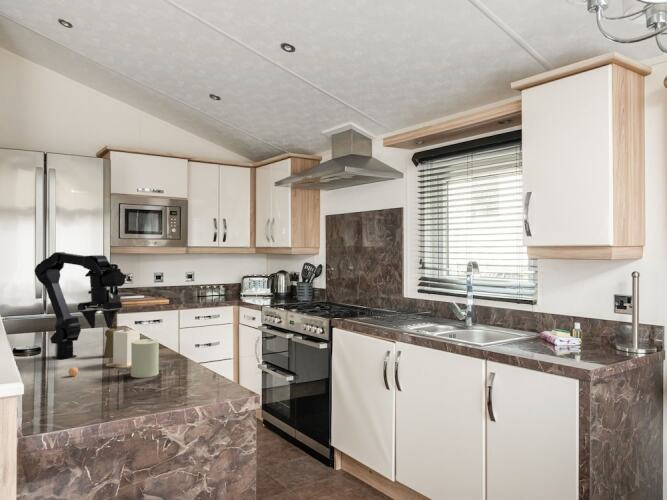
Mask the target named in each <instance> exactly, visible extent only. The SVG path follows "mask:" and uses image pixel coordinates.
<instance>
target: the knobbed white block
mask: <svg viewBox="0 0 667 500" xmlns="http://www.w3.org/2000/svg"><path fill="white" fill-rule="evenodd" d="M118 330H119V329H118ZM140 333H141V330H139V329H130V327H124V328H123V329H121V330H119V331H114V332H113V359H112V363H113V364H119V365H130V364H131V342H132V341H135V340H141V337H140V336H141V334H140Z"/></svg>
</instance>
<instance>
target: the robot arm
mask: <svg viewBox="0 0 667 500" xmlns="http://www.w3.org/2000/svg"><path fill="white" fill-rule="evenodd" d="M65 264H69V265H75V266H79V267H83V268H84V269H86V270H88V272H87V273H86V274H85V275H84V276H85V278H86V277H88V278H89V283H90V290H88V292H87V293H88V294H90V298H91V299H90V301H85V302H79V303H78V305H77V311H80V313H81V314H82V315H83V317H84V318H85V319H86V321H87V323H88V325H89V326H90V328H91V329H95V327H96V313H97V312H98V311H99V309H103V310H102V314H103V319H104V321H105V324H106V328H108V329H112V324H113V321H114V319H115V318H114V317H115V315H116V313H117V312H119V311H121V309H122V308H123V302H122V301H121V297H122V296H120V295H117V294H114V293H111V290H110V289H108V288H115V287H122V286H124V285H125V281H126V276H125V274H124V273H123V271H121V268H114V267H113V266H112V265H111V263H110V262H109V260H108V257H107V256H106V255H102V254H99V255H92V254H91V255H80V254H76V253H75V254H73V253H68V252H67V253H66V252H63V251H62V252H60V251H59V252H58V251H57V252H54V253H52V254H51V255H50V256H49V257H47V258H45V259H44V260H42V261H41V262H39V263H37V265H36V266H35V268H34V274H35V276H36V278H37V280H38V281H39V282H40V283H41V284H42V285H43V286H44V287H45V290H46V292H47V295H48V299H49V301H50V304H51V307H52V309H53V312H54V315H55V318H56V322H55V325H54V328H55V332H54V333H53V334H52V335H51V337H50V338H49V339H50V342H51V344H55V355H52V357H51V358H53V359H58V360H66V359H73V358H77V355H76V354H74V341H78V339H79V337H80V334H81V332H82V329H81V327H82V325H81V324H80V321H79V318H78V316H74V317H73V316H72V315H71V312H70V310H69V307H68V304H67V301H66V298H65V297H64V293H63V291H62V288H61V284H60V283H59V282H60V278H61V271H62V269H64V267H65Z"/></svg>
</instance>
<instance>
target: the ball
mask: <svg viewBox="0 0 667 500" xmlns="http://www.w3.org/2000/svg"><path fill="white" fill-rule="evenodd" d="M78 374H79V369H78V368H77V367H75V366H73V367H70V368H69V369H68V375H69V376H70V377H75V376H77V375H78Z"/></svg>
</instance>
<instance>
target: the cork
mask: <svg viewBox="0 0 667 500" xmlns="http://www.w3.org/2000/svg"><path fill="white" fill-rule="evenodd" d="M114 331H119V329H117V328H108V329H106V330H105V334H104V335H105V337H106V340H105V345H104V353H103V358H107V359H109V358H110V359H112V358H113V332H114Z"/></svg>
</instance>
